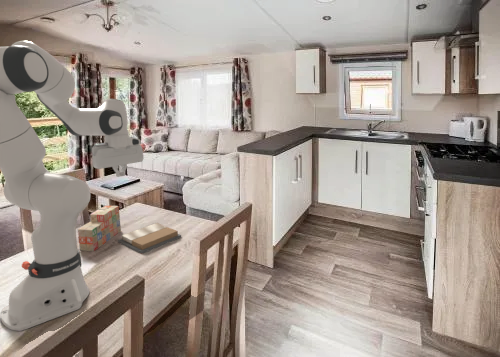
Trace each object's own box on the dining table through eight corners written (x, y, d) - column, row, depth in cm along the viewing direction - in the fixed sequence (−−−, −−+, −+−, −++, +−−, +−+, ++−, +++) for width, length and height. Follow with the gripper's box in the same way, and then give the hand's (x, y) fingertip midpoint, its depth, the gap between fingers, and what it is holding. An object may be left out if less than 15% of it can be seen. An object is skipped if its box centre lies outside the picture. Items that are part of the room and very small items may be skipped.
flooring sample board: (141, 253, 128) (141, 246, 128) (118, 242, 138) (117, 235, 138) (181, 237, 144) (180, 230, 143) (157, 228, 154) (156, 222, 153)
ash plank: (131, 244, 134) (131, 240, 133) (122, 239, 138) (121, 235, 137) (167, 230, 148) (167, 227, 147) (157, 226, 152) (157, 222, 151)
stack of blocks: (94, 251, 130) (90, 222, 127) (79, 250, 131) (75, 222, 128) (121, 230, 151) (118, 205, 148) (108, 230, 152) (105, 204, 149)
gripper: (95, 145, 118) (99, 182, 121) (144, 139, 134) (146, 172, 137) (86, 143, 122) (91, 179, 125) (135, 138, 137) (138, 170, 141)
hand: (120, 176), depth 131 cm, fingers closed
